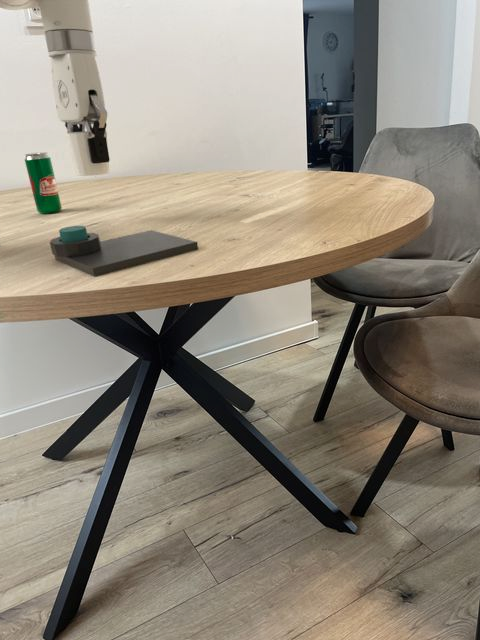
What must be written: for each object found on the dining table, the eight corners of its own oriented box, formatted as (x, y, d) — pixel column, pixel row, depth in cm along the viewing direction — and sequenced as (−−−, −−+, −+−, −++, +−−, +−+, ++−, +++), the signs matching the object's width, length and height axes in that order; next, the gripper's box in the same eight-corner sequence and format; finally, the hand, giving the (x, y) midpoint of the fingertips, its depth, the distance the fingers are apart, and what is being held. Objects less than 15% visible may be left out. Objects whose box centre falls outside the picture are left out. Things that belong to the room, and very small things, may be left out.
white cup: (96, 171, 96) (90, 130, 93) (120, 172, 93) (114, 130, 90) (65, 175, 91) (57, 133, 88) (89, 176, 88) (82, 132, 85)
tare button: (67, 245, 70) (64, 232, 69) (57, 241, 72) (54, 229, 72) (92, 240, 72) (90, 227, 71) (81, 236, 74) (79, 224, 74)
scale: (89, 278, 64) (83, 255, 63) (48, 260, 74) (43, 239, 72) (198, 249, 74) (195, 229, 73) (149, 236, 83) (146, 218, 82)
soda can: (47, 215, 108) (32, 154, 103) (32, 213, 110) (18, 154, 105) (67, 210, 112) (54, 151, 106) (52, 209, 114) (39, 151, 109)
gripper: (29, 51, 87) (52, 162, 95) (70, 38, 75) (92, 166, 83) (72, 52, 92) (90, 158, 99) (117, 40, 80) (133, 161, 87)
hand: (91, 161), depth 91 cm, fingers closed on white cup, 6 cm apart
